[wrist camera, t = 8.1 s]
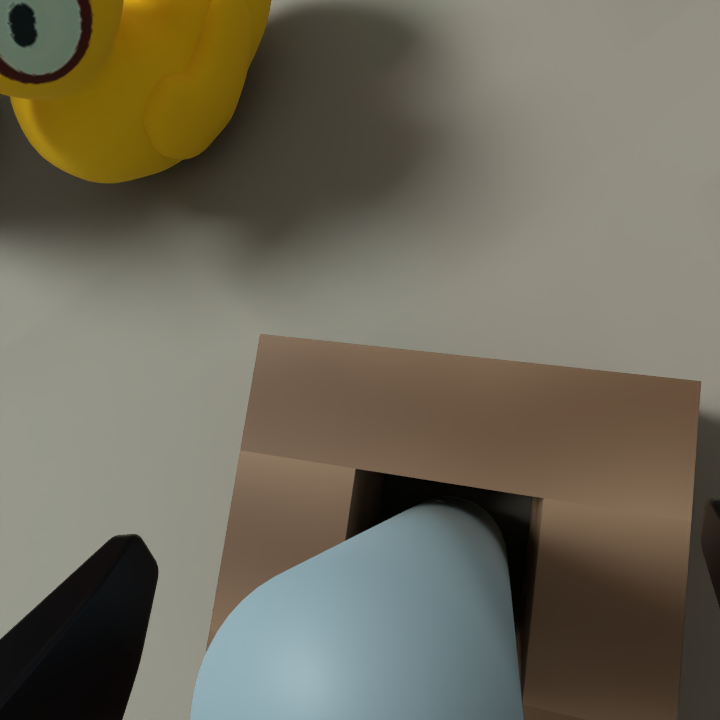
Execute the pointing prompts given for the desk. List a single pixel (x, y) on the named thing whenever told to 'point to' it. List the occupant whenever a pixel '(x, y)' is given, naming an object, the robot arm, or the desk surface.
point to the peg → (376, 629)
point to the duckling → (125, 78)
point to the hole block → (493, 472)
